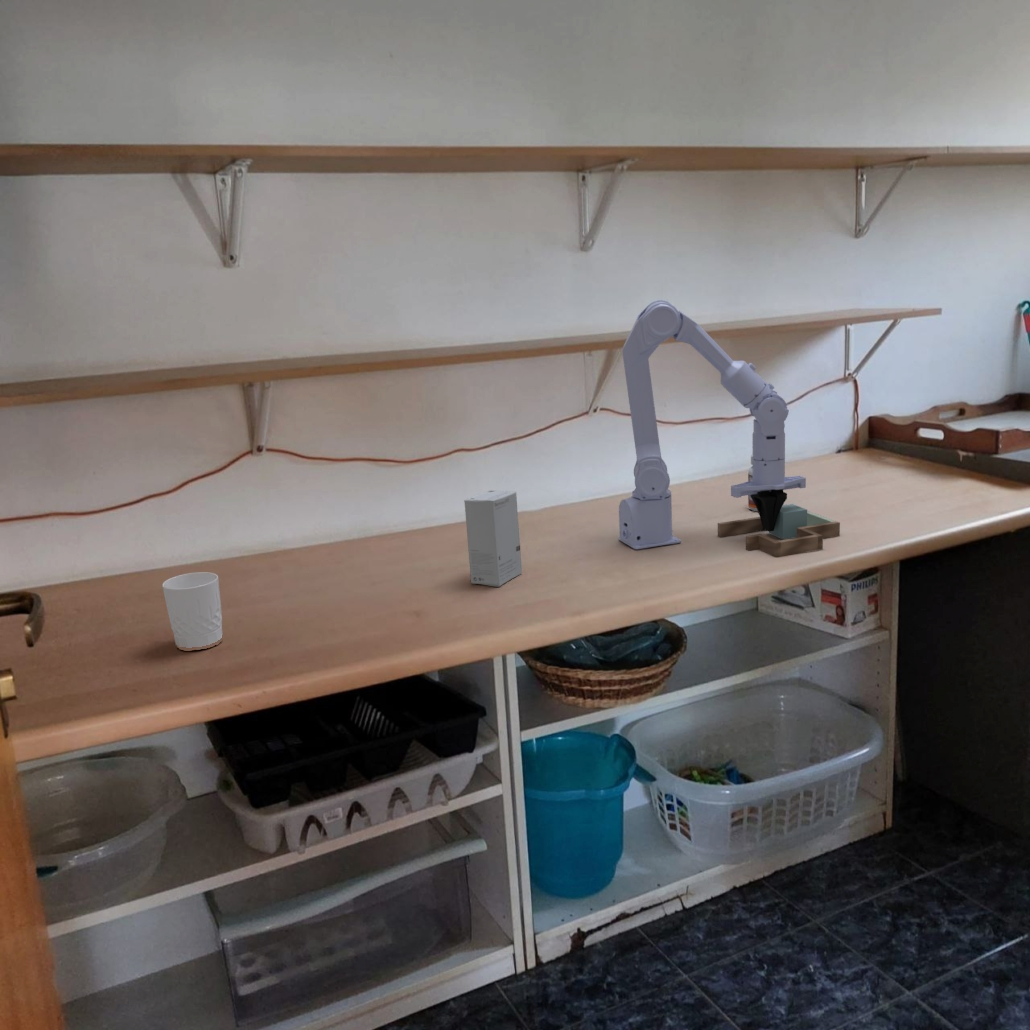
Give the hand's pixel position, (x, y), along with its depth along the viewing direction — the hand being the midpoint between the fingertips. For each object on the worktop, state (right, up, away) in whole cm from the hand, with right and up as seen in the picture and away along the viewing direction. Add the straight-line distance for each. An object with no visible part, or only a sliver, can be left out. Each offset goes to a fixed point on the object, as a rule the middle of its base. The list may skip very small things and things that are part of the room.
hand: (768, 529), depth 180 cm
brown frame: (+3, -2, -2) cm, 4 cm away
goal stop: (+10, 0, +4) cm, 11 cm away
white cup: (-94, -17, -34) cm, 102 cm away
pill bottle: (+4, +4, +21) cm, 21 cm away
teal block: (+4, -1, +2) cm, 4 cm away
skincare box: (-50, -8, -13) cm, 53 cm away
